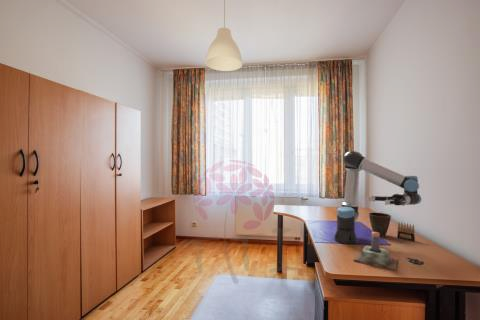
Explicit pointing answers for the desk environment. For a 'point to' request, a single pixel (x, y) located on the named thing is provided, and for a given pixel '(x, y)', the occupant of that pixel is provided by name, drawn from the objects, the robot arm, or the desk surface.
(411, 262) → the blender logo cutout
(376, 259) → the socket
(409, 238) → the ammunition clip
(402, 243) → the desk surface
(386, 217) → the plant pot
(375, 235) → the peg
